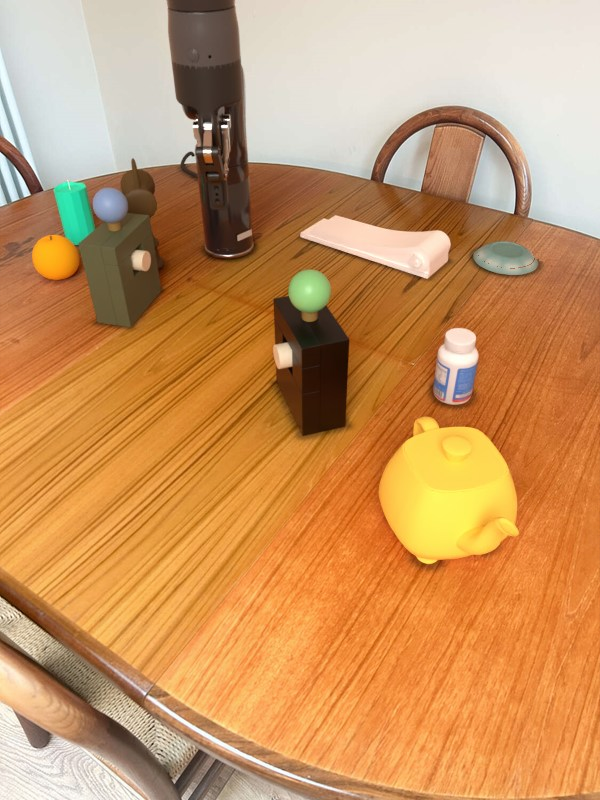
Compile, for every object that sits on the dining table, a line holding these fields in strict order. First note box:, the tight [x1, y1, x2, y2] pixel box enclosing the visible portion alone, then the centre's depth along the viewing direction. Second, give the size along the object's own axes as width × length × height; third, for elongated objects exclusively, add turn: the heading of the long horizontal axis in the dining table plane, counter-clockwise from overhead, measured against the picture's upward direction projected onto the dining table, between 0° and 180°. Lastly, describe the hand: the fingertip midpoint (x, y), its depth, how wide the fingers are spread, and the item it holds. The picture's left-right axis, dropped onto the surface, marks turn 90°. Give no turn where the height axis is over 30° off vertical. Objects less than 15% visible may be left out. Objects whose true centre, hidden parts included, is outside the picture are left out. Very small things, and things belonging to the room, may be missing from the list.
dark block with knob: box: [272, 268, 350, 437], centre depth 84 cm, size 6×12×20 cm, turn 18°
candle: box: [53, 178, 96, 246], centre depth 127 cm, size 6×6×12 cm
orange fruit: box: [31, 234, 81, 281], centre depth 117 cm, size 8×8×8 cm
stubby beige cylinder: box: [272, 342, 292, 369], centre depth 84 cm, size 2×3×3 cm
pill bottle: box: [432, 327, 480, 406], centre depth 89 cm, size 6×5×10 cm
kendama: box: [120, 157, 165, 270], centre depth 115 cm, size 6×10×20 cm, turn 13°
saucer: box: [472, 240, 539, 276], centre depth 122 cm, size 12×12×2 cm
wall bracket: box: [300, 214, 451, 280], centre depth 124 cm, size 10×7×28 cm
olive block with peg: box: [78, 186, 162, 328], centre depth 104 cm, size 6×12×20 cm, turn 165°
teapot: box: [378, 416, 520, 565], centre depth 69 cm, size 14×20×13 cm
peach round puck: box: [130, 250, 151, 271], centre depth 104 cm, size 2×3×3 cm
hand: (219, 207), depth 82 cm, fingers closed
